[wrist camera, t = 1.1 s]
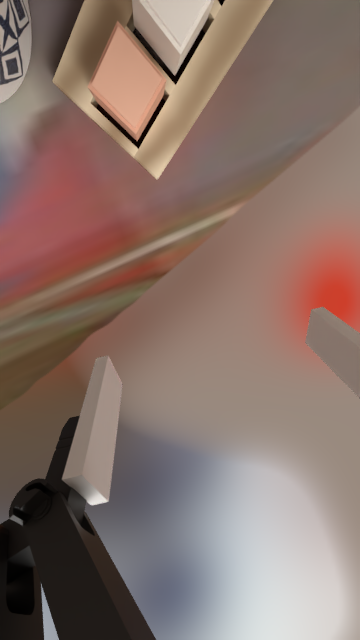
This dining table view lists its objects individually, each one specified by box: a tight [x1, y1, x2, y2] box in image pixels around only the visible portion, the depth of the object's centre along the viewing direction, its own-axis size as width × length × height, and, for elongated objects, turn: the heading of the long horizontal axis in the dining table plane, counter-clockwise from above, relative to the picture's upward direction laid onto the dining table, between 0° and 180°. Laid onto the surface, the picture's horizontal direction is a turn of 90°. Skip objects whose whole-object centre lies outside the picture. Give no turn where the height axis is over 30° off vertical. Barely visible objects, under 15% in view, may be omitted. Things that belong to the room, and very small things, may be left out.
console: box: [52, 0, 273, 180], centre depth 22 cm, size 13×22×3 cm, turn 141°
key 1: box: [88, 21, 167, 141], centre depth 21 cm, size 5×5×5 cm
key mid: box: [132, 0, 214, 76], centre depth 19 cm, size 5×5×5 cm
